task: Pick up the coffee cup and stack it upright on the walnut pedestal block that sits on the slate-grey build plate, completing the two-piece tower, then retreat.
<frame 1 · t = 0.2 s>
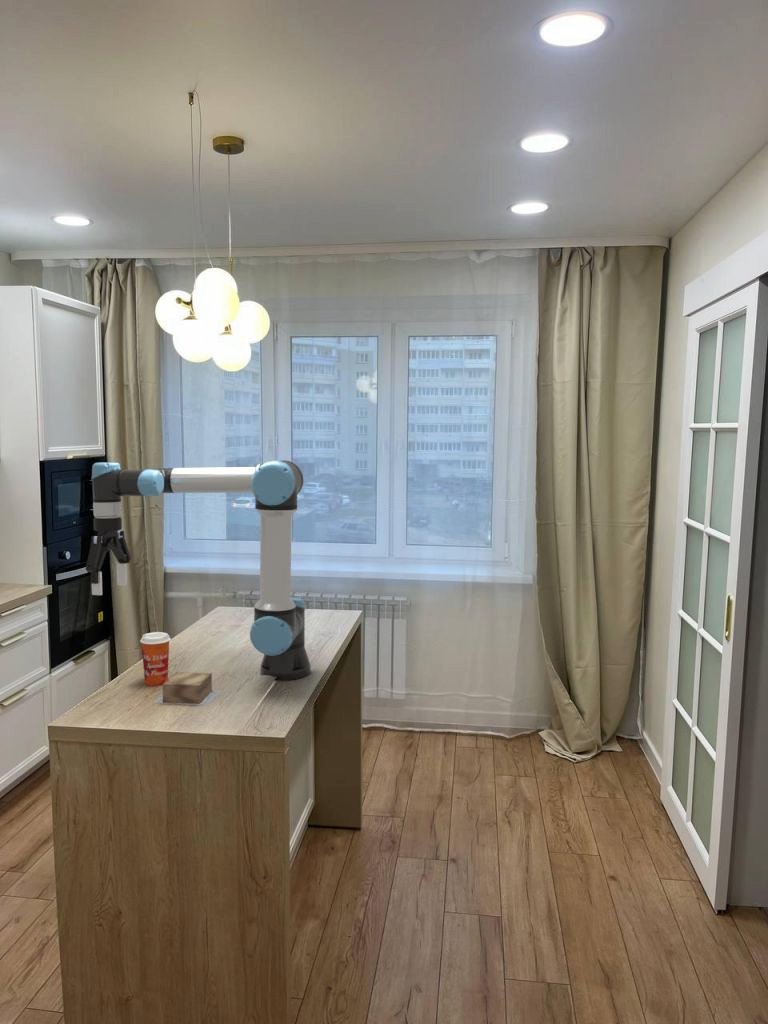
hand: (110, 590, 210), 27 cm above the countertop, fingers open, 13 cm apart
coffee cup: (156, 687, 209), on the countertop
build plate: (188, 700, 197), on the countertop
pedestal: (188, 696, 197), point 1 cm above the countertop, touching build plate
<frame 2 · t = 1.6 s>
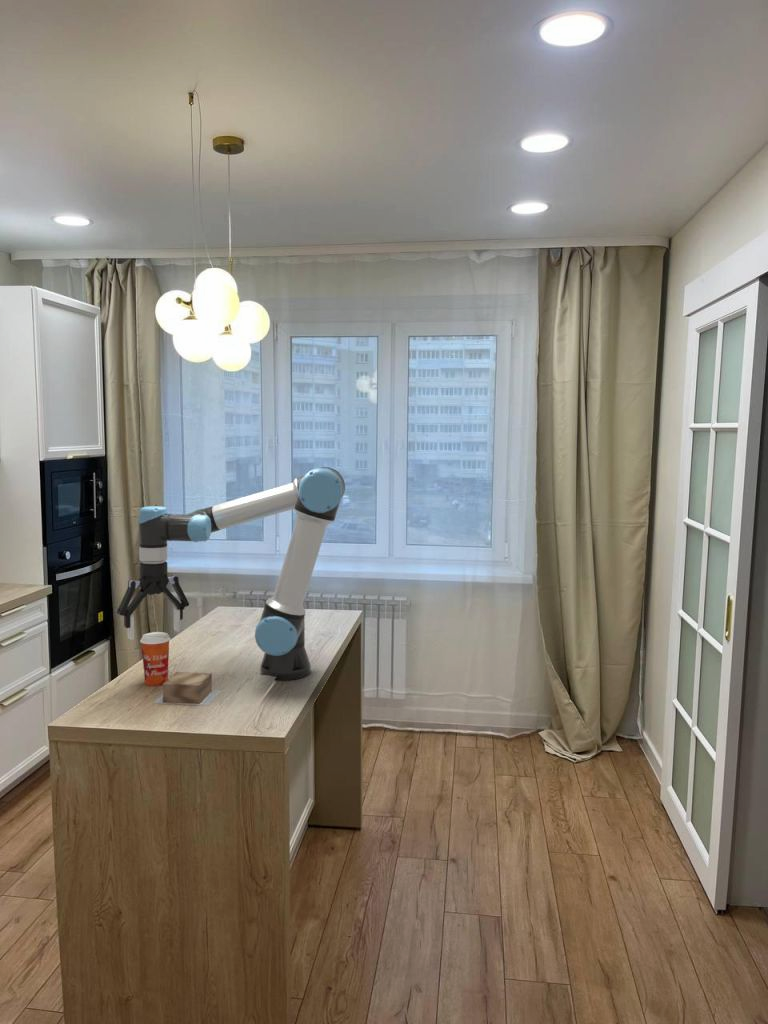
hand: (154, 635, 207), 15 cm above the countertop, fingers open, 13 cm apart
nothing on the countertop moved.
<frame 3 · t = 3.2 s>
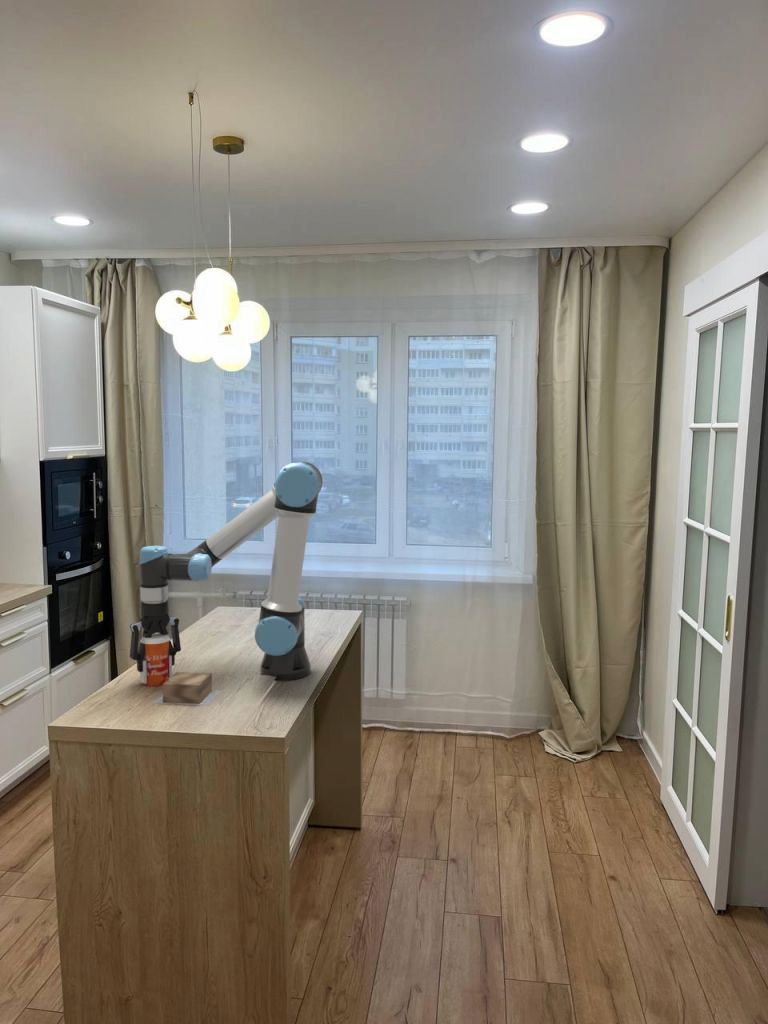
hand: (156, 679, 208), 2 cm above the countertop, fingers closed on coffee cup, 7 cm apart
coffee cup: (156, 686, 209), on the countertop, touching gripper
everything else where it was.
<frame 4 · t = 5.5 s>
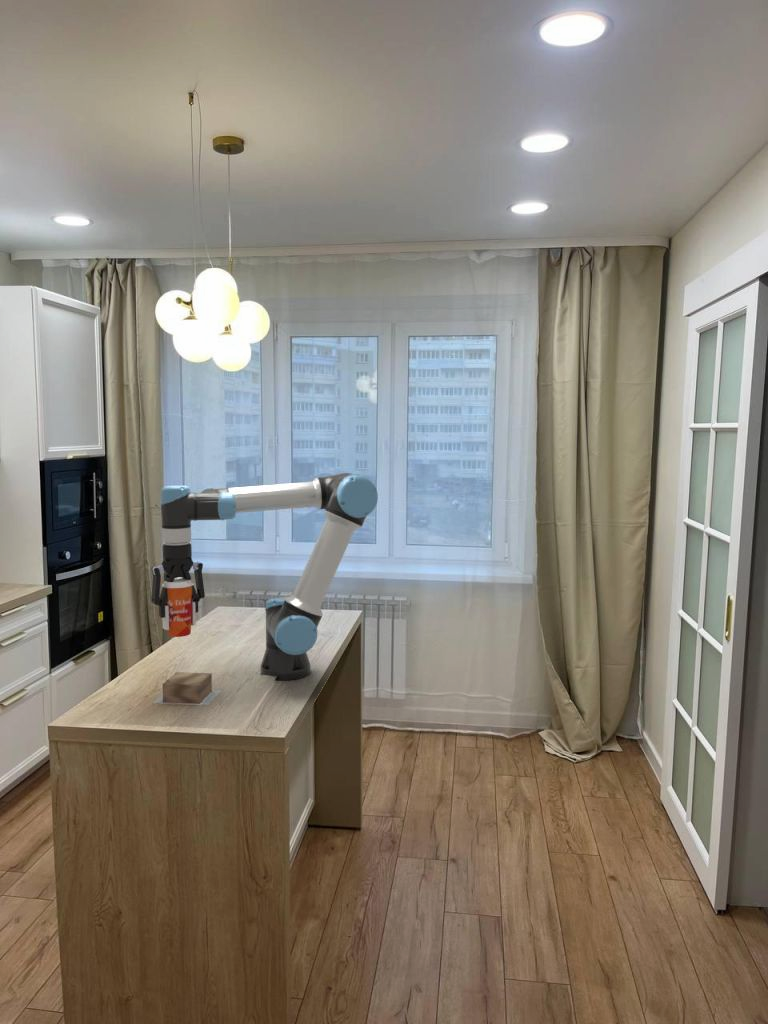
hand: (179, 626, 198), 20 cm above the countertop, fingers closed on coffee cup, 7 cm apart
coffee cup: (179, 634, 198), point 18 cm above the countertop, touching gripper
everything else where it was.
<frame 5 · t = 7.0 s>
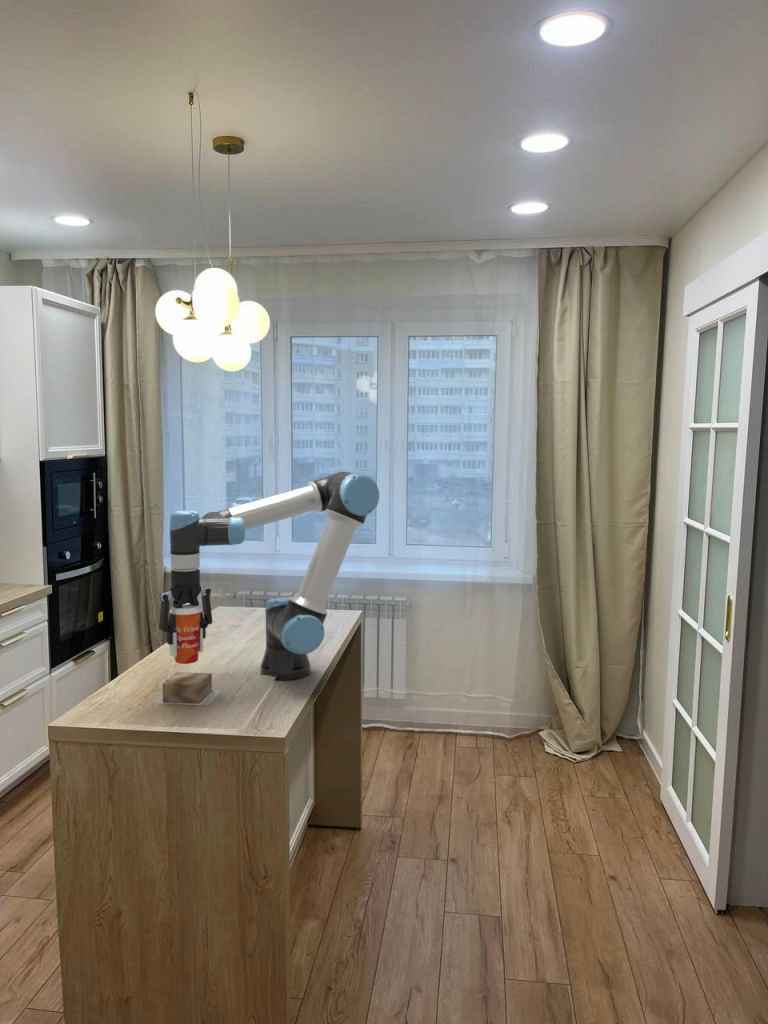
hand: (186, 653, 196), 13 cm above the countertop, fingers closed on coffee cup, 7 cm apart
coffee cup: (187, 661, 196), point 11 cm above the countertop, touching gripper
everything else where it was.
when the fingers open (10 cm above the countertop, at t = 8.1 s): coffee cup drops 1 cm, resting on pedestal.
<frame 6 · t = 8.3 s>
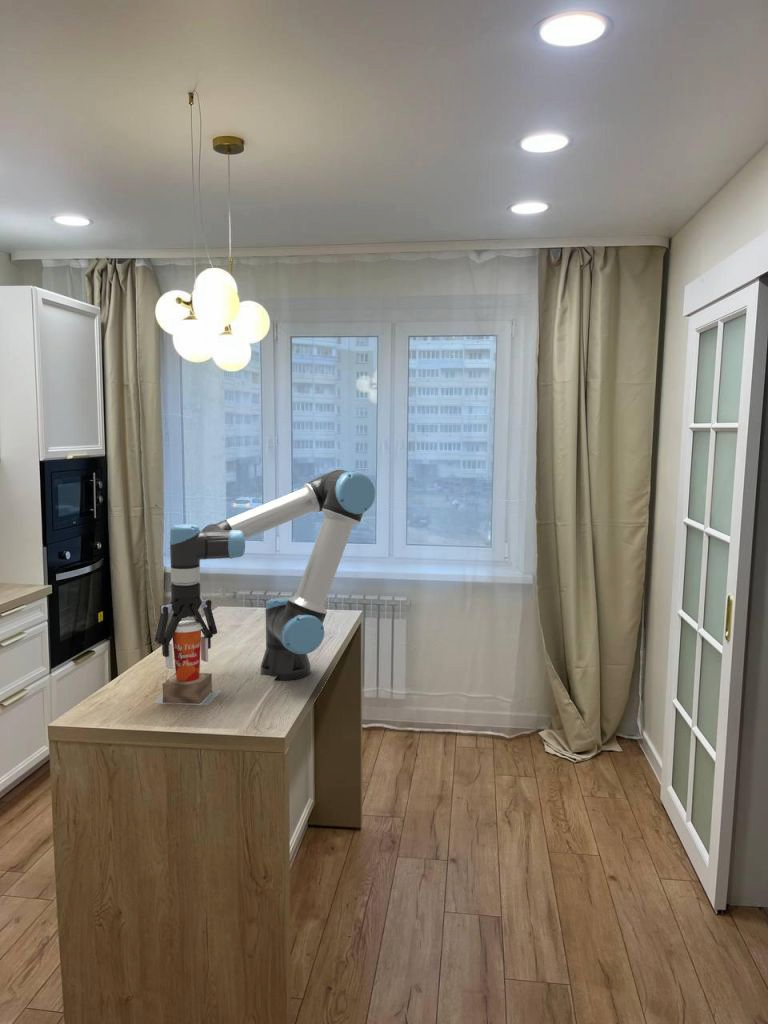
hand: (187, 664, 196), 10 cm above the countertop, fingers open, 9 cm apart
coffee cup: (188, 678, 197), point 6 cm above the countertop, touching pedestal
pedestal: (188, 696, 197), point 1 cm above the countertop, touching build plate, coffee cup
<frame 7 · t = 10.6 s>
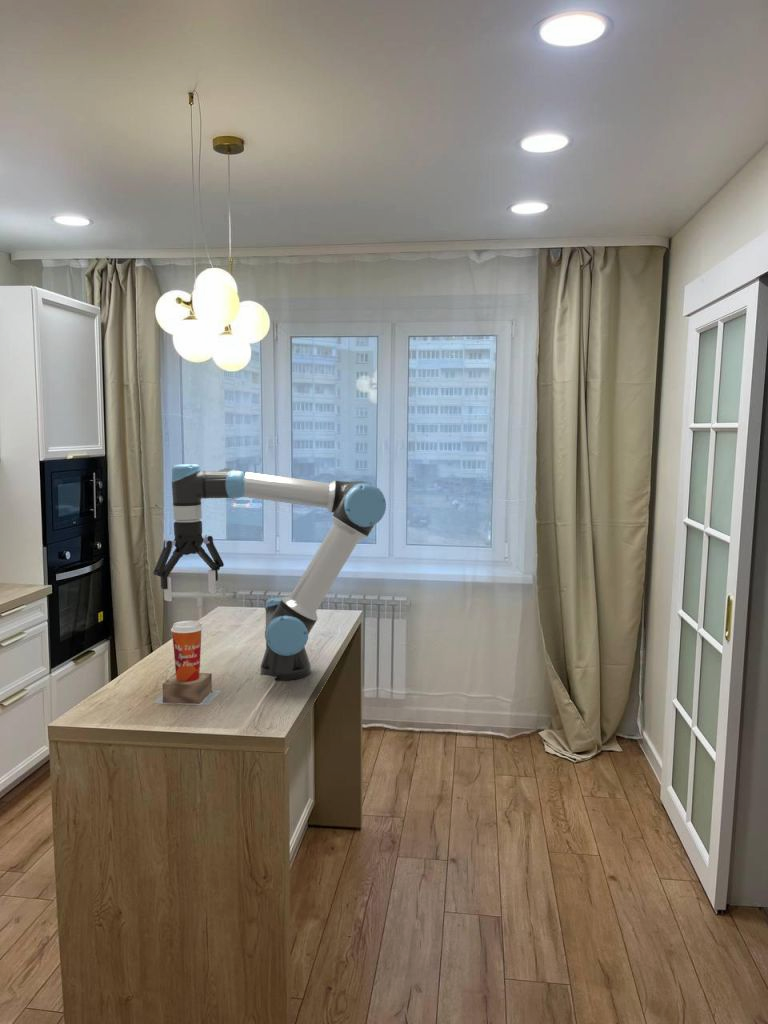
hand: (190, 596, 202), 27 cm above the countertop, fingers open, 13 cm apart
nothing on the countertop moved.
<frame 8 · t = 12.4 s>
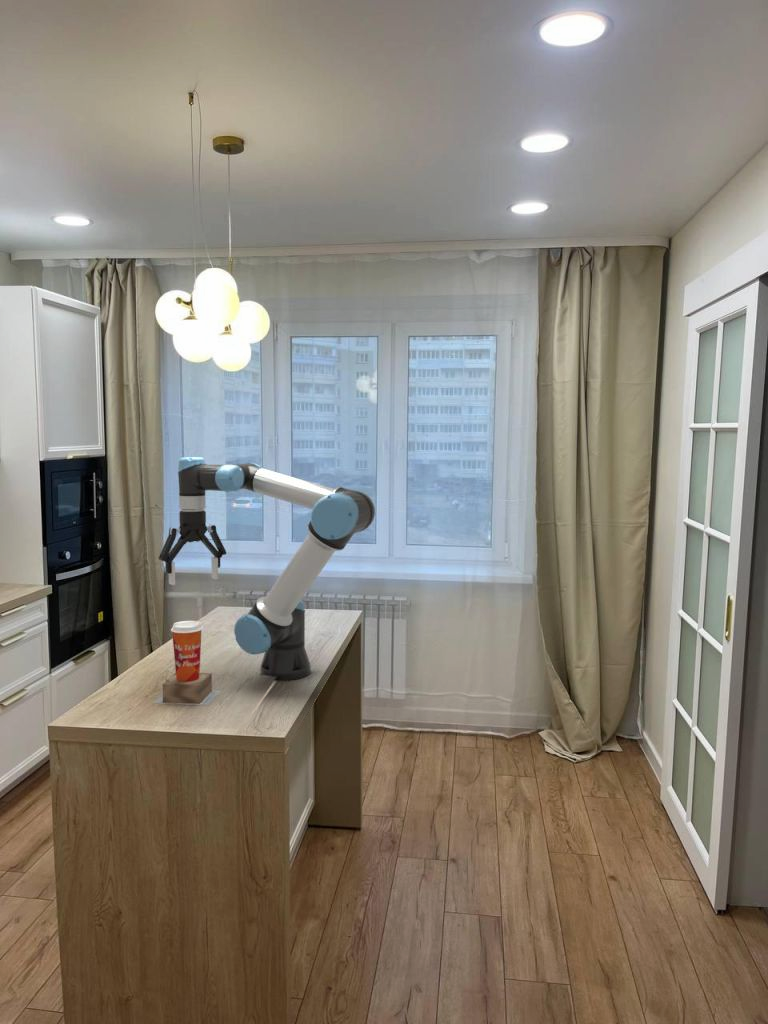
hand: (193, 581, 215), 29 cm above the countertop, fingers open, 13 cm apart
nothing on the countertop moved.
at the end: coffee cup inside the target area on the pedestal (0.1 cm from its centre), point 4.9 cm above the pedestal's base; coffee cup tilted 0°; the gripper is holding nothing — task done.
